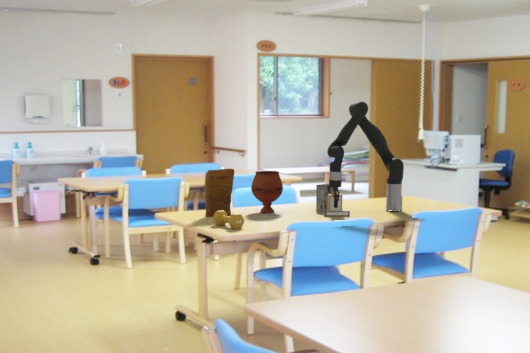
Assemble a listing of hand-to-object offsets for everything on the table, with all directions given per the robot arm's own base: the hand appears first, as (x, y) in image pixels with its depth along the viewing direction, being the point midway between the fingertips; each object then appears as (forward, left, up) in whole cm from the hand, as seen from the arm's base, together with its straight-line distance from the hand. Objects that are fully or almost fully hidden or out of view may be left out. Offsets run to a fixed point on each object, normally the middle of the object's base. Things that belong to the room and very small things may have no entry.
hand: (334, 206), depth 446 cm
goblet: (+40, -10, -5) cm, 42 cm away
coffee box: (+3, -18, -5) cm, 19 cm away
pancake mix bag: (+70, +5, -5) cm, 70 cm away
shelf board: (0, +2, -5) cm, 5 cm away
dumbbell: (+67, +42, -5) cm, 79 cm away
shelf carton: (0, 0, -3) cm, 3 cm away
